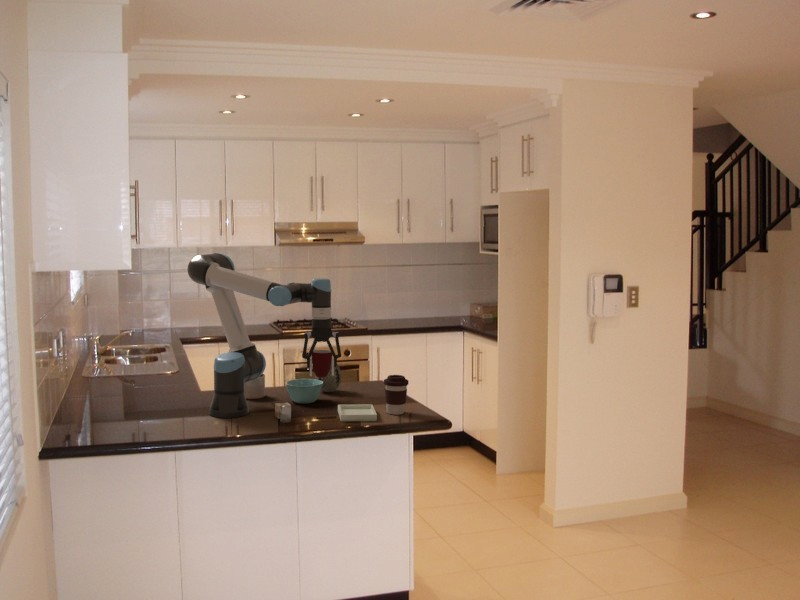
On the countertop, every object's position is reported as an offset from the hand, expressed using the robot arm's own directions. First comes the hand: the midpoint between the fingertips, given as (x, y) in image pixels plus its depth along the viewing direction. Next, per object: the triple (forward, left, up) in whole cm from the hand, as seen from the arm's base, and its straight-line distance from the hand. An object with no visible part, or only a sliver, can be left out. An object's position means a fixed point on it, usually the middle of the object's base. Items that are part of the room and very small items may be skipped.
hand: (321, 375), depth 323 cm
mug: (0, 0, -1) cm, 1 cm away
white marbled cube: (-15, -2, -16) cm, 22 cm away
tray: (+14, -2, -16) cm, 21 cm away
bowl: (-6, +24, -16) cm, 30 cm away
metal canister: (-14, -9, -16) cm, 23 cm away
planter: (-28, +33, -16) cm, 46 cm away
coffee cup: (+30, +2, -16) cm, 34 cm away
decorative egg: (+5, +41, -16) cm, 44 cm away
